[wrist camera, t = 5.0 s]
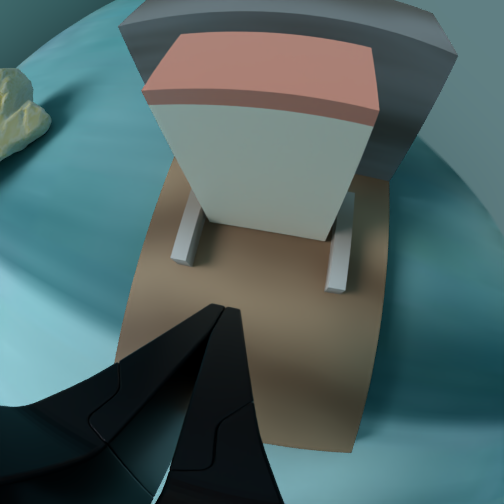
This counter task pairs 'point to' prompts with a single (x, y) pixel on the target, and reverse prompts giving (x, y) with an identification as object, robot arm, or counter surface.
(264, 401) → the wooden platform
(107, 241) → the counter surface
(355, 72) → the pink-topped white block
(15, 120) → the cheese
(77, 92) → the counter surface
